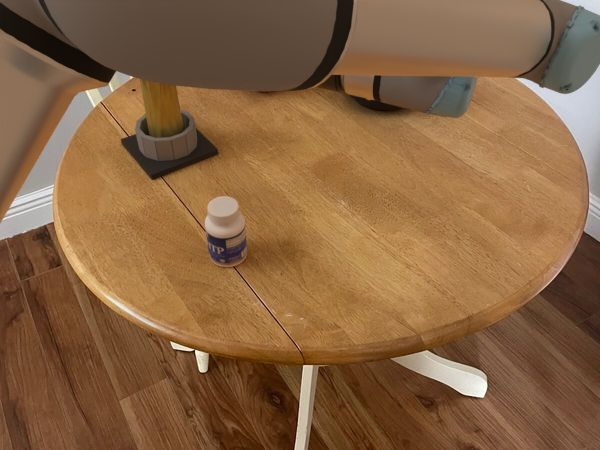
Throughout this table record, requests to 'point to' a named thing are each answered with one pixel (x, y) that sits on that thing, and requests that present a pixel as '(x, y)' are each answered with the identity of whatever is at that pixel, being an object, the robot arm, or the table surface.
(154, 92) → the vase
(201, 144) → the socket pad
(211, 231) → the pill bottle
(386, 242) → the table surface
